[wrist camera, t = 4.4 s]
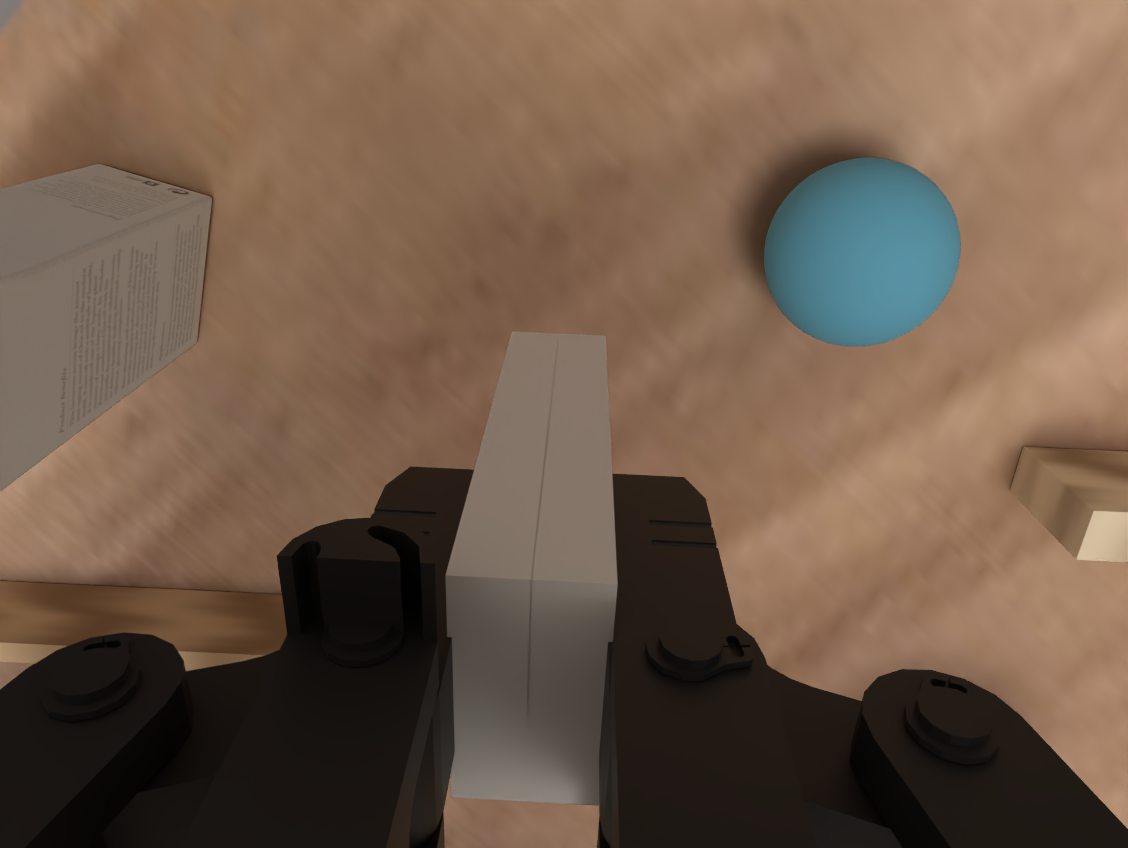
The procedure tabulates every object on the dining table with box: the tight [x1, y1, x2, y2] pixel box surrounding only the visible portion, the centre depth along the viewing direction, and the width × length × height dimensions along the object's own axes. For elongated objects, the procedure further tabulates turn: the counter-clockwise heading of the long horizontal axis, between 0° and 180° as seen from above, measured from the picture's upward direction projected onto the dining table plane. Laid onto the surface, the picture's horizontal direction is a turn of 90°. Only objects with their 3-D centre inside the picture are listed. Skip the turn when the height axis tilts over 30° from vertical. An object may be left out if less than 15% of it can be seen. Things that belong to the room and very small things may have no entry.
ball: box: [764, 158, 961, 346], centre depth 27 cm, size 6×6×6 cm
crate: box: [0, 581, 287, 671], centre depth 39 cm, size 21×20×4 cm
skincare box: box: [0, 164, 212, 491], centre depth 25 cm, size 6×4×12 cm
